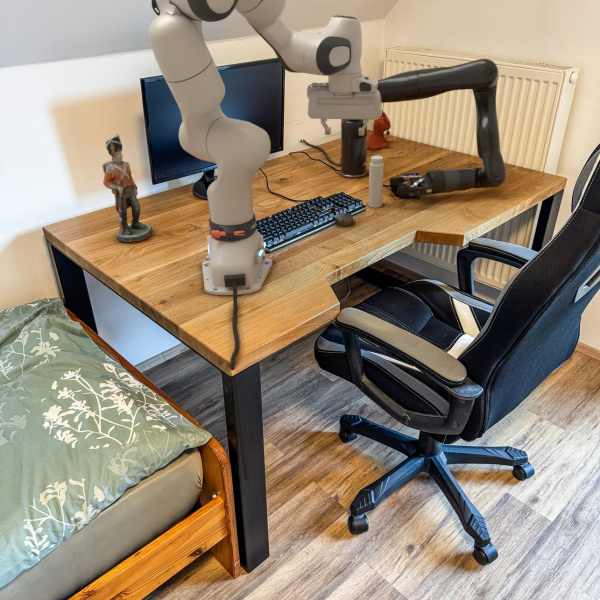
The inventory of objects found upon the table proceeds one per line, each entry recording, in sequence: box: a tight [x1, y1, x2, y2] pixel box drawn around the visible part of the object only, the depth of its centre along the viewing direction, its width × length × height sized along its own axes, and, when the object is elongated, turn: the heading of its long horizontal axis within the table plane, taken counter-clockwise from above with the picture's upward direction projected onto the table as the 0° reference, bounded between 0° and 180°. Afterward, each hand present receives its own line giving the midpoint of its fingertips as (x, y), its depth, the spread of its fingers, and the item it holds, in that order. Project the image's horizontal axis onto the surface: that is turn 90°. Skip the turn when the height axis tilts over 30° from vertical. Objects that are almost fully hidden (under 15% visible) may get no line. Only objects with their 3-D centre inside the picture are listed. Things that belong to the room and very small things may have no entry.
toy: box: [367, 109, 392, 151], centre depth 232 cm, size 13×18×15 cm
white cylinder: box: [368, 154, 385, 209], centre depth 178 cm, size 4×4×16 cm
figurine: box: [102, 133, 153, 243], centre depth 161 cm, size 11×11×30 cm
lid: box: [334, 212, 354, 228], centre depth 171 cm, size 5×5×2 cm
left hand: (344, 134), depth 157 cm, fingers open, 8 cm apart
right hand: (393, 186), depth 180 cm, fingers open, 8 cm apart
